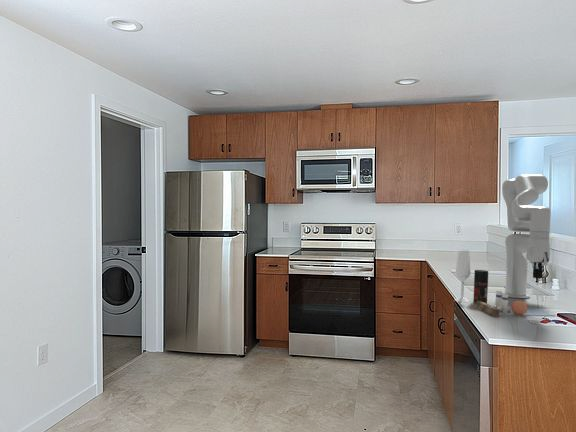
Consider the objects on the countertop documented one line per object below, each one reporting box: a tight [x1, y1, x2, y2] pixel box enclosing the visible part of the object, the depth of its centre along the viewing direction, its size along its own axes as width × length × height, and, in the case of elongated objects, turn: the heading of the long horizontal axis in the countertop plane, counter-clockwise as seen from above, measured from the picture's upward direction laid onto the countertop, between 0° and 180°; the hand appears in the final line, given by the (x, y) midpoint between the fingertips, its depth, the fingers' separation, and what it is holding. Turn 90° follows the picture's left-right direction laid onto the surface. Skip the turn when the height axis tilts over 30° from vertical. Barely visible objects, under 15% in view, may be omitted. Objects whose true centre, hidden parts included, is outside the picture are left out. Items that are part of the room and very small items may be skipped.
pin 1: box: [495, 290, 503, 306], centre depth 197 cm, size 2×2×8 cm
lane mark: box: [499, 308, 556, 317], centre depth 195 cm, size 11×25×1 cm, turn 92°
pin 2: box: [501, 293, 509, 314], centre depth 192 cm, size 2×2×8 cm
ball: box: [510, 300, 528, 316], centre depth 190 cm, size 6×6×6 cm
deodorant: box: [472, 269, 489, 304], centre depth 212 cm, size 6×6×15 cm
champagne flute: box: [454, 249, 471, 303], centre depth 216 cm, size 7×7×24 cm
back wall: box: [475, 301, 500, 318], centre depth 194 cm, size 16×2×3 cm, turn 3°
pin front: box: [492, 305, 511, 312], centre depth 194 cm, size 2×2×8 cm
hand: (537, 277), depth 195 cm, fingers closed
